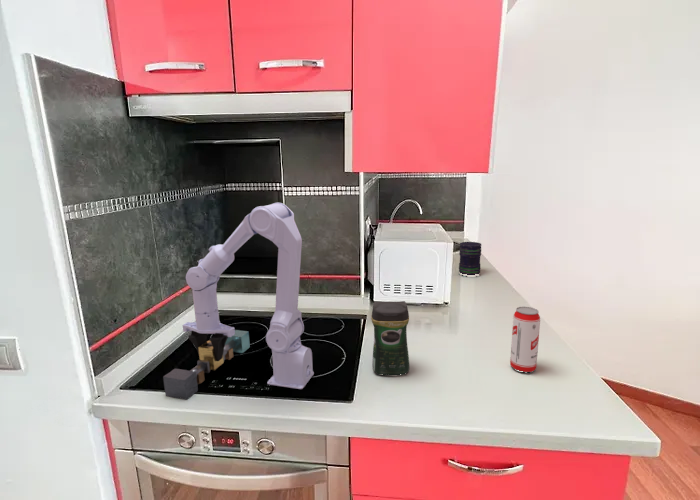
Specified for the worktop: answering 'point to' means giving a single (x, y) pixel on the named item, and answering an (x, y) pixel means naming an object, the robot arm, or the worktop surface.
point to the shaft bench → (201, 369)
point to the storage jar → (470, 258)
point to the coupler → (209, 355)
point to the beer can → (525, 339)
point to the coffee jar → (390, 338)
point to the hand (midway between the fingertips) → (211, 358)
